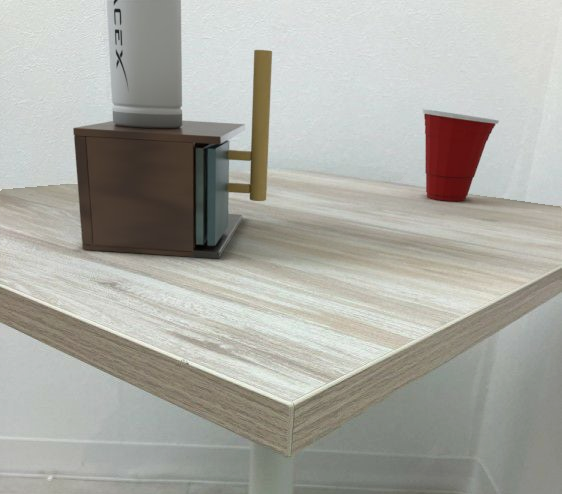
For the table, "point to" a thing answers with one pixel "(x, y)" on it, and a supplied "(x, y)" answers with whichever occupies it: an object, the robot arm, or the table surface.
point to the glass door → (241, 155)
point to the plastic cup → (453, 152)
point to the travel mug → (145, 62)
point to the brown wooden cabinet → (149, 188)
